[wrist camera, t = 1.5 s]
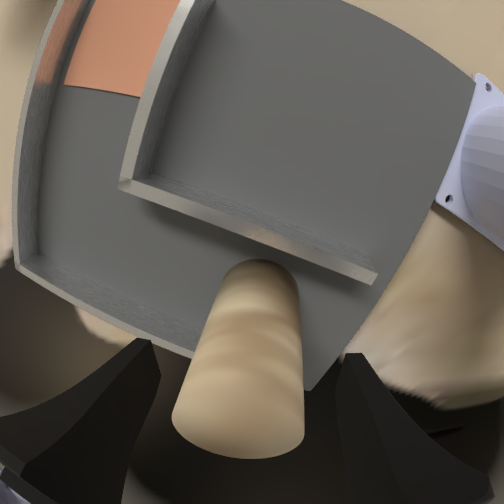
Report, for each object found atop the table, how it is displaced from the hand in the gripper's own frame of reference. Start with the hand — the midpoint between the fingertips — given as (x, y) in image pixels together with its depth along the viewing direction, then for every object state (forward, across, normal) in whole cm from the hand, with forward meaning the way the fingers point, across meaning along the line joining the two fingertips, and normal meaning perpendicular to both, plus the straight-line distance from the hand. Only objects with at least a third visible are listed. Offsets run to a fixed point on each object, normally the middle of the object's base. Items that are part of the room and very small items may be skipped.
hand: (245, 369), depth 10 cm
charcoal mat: (+6, +3, -6) cm, 9 cm away
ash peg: (+5, 0, 0) cm, 5 cm away
